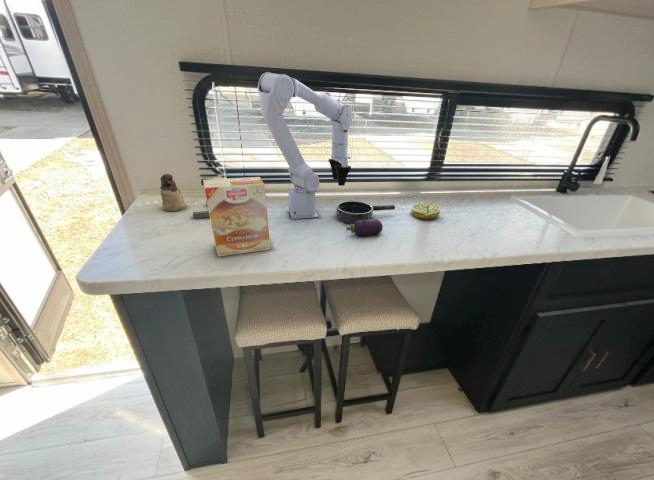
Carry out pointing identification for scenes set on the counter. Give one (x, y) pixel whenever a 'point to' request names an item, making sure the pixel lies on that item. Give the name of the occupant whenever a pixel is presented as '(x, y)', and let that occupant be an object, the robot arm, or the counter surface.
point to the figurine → (171, 194)
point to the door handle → (201, 214)
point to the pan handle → (383, 207)
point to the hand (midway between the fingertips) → (338, 182)
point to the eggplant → (366, 227)
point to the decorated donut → (425, 210)
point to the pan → (354, 211)
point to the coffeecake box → (238, 215)
